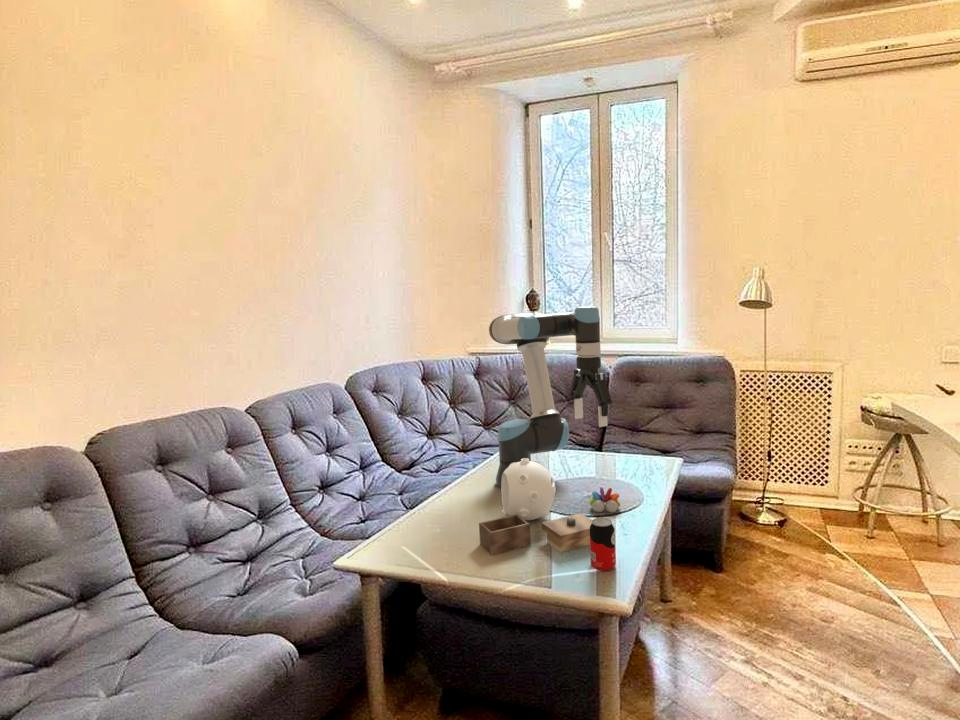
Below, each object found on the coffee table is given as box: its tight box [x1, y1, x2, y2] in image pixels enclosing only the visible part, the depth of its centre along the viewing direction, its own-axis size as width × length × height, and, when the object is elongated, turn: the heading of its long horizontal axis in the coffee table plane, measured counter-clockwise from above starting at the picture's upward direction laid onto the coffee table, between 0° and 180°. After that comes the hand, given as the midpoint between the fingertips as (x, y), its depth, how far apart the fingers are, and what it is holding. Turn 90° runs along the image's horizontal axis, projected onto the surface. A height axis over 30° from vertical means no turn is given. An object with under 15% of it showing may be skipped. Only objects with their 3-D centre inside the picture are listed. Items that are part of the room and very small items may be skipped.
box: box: [478, 515, 532, 556], centre depth 166 cm, size 12×8×7 cm, turn 113°
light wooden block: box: [546, 532, 590, 553], centre depth 166 cm, size 12×7×4 cm, turn 113°
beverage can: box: [589, 517, 617, 572], centre depth 152 cm, size 6×6×12 cm
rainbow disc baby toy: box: [589, 486, 621, 513], centre depth 190 cm, size 8×10×7 cm
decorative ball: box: [500, 458, 556, 521], centre depth 184 cm, size 20×17×20 cm
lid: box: [541, 513, 593, 543], centre depth 165 cm, size 13×10×3 cm
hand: (590, 422), depth 188 cm, fingers open, 13 cm apart
